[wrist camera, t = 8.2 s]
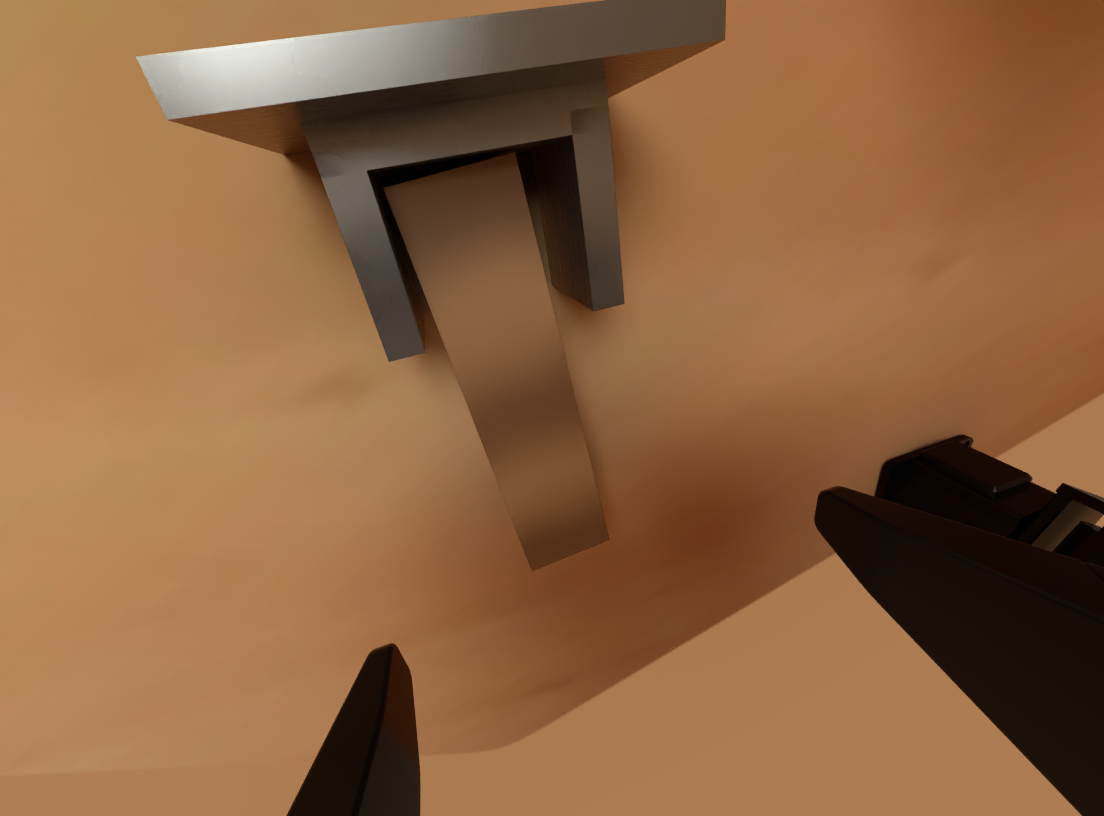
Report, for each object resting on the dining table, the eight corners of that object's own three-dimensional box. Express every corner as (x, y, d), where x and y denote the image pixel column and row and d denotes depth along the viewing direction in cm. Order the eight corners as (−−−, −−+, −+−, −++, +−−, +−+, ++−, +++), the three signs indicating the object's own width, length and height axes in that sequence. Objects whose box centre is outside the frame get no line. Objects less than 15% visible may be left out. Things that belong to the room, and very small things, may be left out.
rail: (390, 189, 14) (383, 188, 11) (494, 161, 15) (514, 152, 12) (515, 517, 22) (532, 571, 19) (582, 491, 22) (609, 539, 19)
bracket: (612, 270, 17) (718, 311, 11) (353, 330, 16) (313, 416, 9) (593, 74, 14) (726, -15, 8) (270, 122, 13) (136, 56, 6)
